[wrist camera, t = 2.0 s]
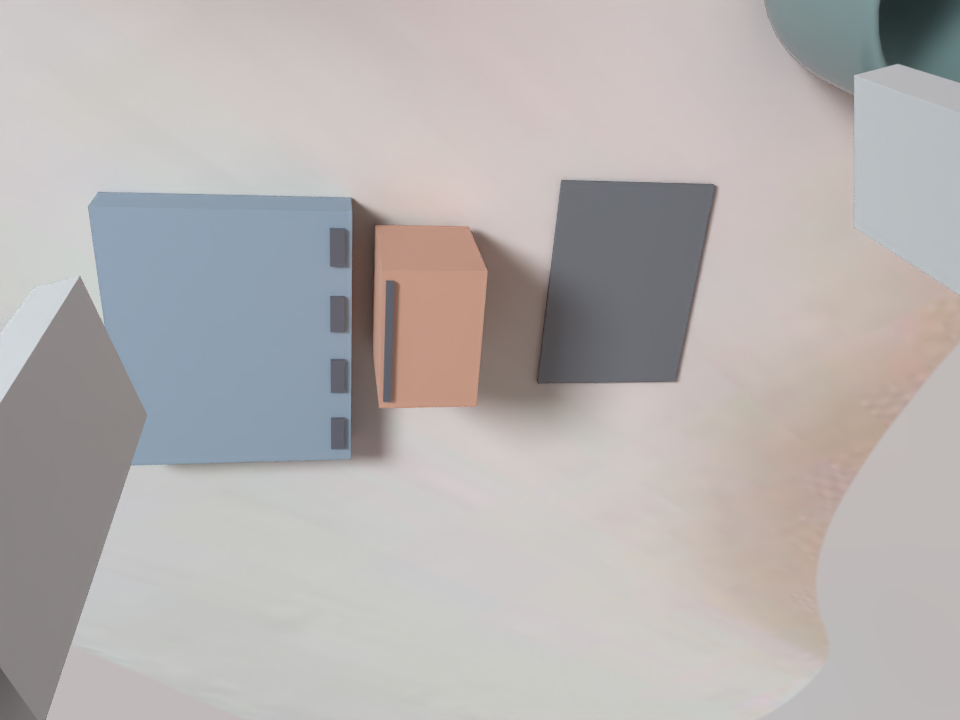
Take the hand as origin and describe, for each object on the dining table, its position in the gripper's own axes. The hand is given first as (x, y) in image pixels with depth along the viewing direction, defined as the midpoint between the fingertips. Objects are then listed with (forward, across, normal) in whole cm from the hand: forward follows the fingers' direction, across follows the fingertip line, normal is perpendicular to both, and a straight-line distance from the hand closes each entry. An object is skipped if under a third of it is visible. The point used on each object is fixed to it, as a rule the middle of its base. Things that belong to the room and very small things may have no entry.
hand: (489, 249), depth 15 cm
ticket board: (+22, -10, -10) cm, 26 cm away
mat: (+22, +8, -13) cm, 27 cm away
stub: (+22, -2, -10) cm, 25 cm away
